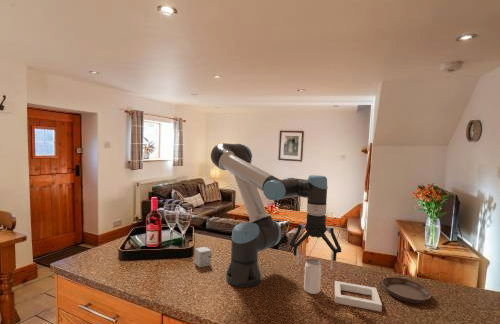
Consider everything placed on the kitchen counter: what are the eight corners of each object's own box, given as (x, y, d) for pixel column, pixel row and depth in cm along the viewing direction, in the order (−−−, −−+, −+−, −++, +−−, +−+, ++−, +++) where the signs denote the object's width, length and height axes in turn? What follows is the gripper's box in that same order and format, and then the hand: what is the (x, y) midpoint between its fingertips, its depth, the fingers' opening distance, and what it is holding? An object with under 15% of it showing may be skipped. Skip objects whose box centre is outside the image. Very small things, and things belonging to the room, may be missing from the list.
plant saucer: (435, 295, 112) (435, 288, 112) (425, 312, 99) (425, 304, 99) (389, 279, 124) (389, 273, 124) (375, 292, 112) (375, 285, 112)
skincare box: (199, 267, 127) (199, 252, 126) (194, 262, 132) (194, 248, 132) (211, 265, 130) (211, 250, 130) (205, 260, 135) (206, 246, 135)
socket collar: (335, 302, 102) (335, 296, 102) (334, 286, 115) (334, 280, 115) (381, 311, 98) (381, 304, 98) (375, 293, 110) (376, 287, 110)
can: (320, 295, 107) (322, 266, 106) (303, 293, 108) (305, 263, 108) (319, 287, 113) (321, 259, 113) (303, 285, 114) (305, 257, 114)
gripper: (284, 212, 109) (282, 264, 110) (349, 219, 102) (347, 274, 103) (286, 209, 116) (285, 258, 117) (348, 215, 109) (346, 266, 110)
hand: (314, 265), depth 110 cm, fingers open, 13 cm apart
